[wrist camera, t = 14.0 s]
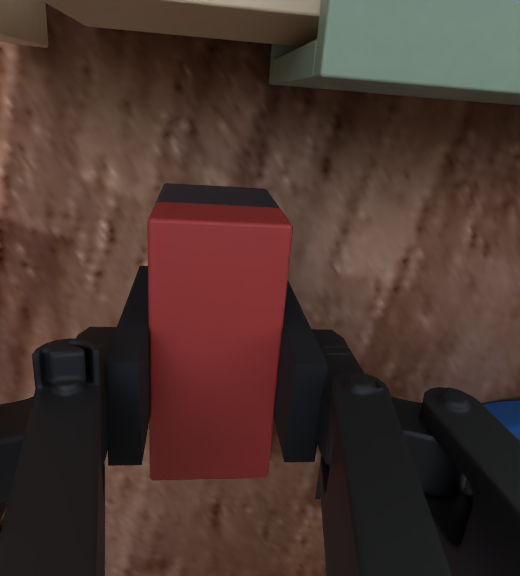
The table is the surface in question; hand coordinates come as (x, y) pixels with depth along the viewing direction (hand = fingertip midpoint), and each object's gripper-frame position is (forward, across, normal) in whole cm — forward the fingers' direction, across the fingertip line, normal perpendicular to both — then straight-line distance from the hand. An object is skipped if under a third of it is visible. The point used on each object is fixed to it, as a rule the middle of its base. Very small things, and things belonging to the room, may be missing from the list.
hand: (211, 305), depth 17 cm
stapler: (0, 0, 0) cm, 0 cm away
